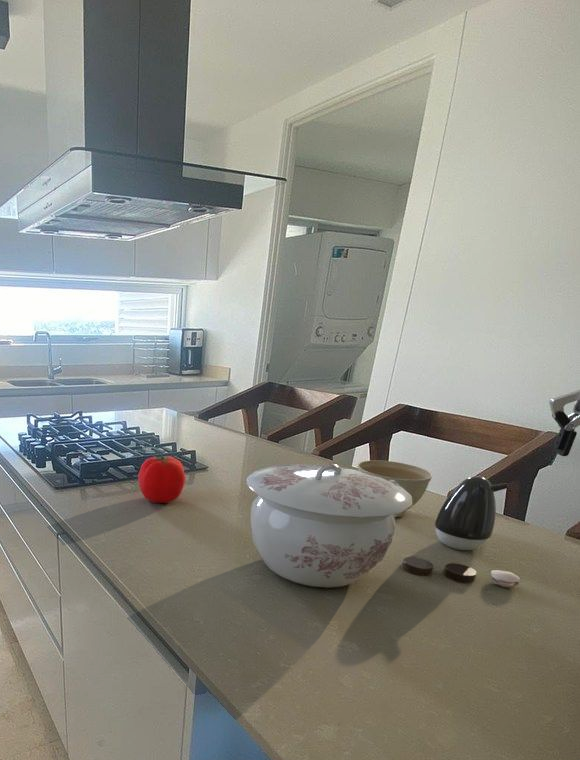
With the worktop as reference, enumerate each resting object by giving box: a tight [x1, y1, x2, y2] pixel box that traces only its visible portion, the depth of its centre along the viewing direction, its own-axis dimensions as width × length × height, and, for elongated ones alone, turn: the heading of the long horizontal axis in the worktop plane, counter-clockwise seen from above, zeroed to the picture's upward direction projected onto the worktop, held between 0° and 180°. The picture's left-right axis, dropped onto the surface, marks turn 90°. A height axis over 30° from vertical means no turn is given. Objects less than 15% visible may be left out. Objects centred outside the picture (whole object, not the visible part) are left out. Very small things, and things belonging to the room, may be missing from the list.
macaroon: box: [490, 569, 521, 588], centre depth 88 cm, size 4×5×2 cm
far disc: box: [401, 556, 434, 577], centre depth 93 cm, size 5×5×2 cm
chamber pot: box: [246, 463, 412, 589], centre depth 88 cm, size 28×28×21 cm
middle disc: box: [442, 562, 477, 584], centre depth 91 cm, size 5×5×2 cm
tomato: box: [137, 454, 187, 504], centre depth 124 cm, size 12×13×12 cm
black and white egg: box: [434, 475, 509, 551], centre depth 101 cm, size 10×10×15 cm
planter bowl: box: [357, 460, 433, 518], centre depth 119 cm, size 16×16×11 cm
